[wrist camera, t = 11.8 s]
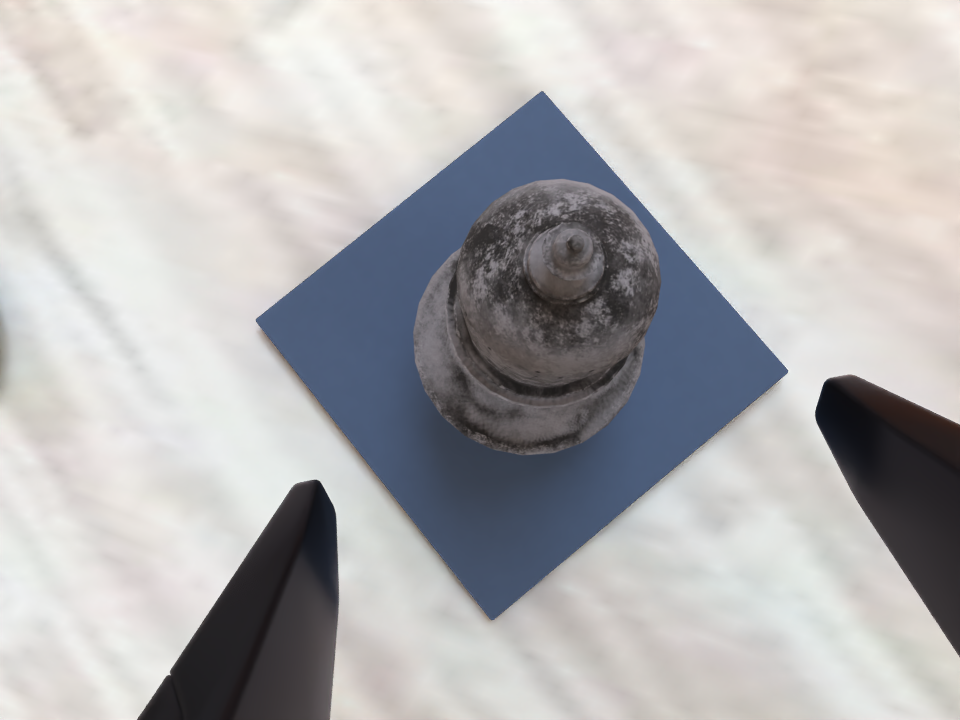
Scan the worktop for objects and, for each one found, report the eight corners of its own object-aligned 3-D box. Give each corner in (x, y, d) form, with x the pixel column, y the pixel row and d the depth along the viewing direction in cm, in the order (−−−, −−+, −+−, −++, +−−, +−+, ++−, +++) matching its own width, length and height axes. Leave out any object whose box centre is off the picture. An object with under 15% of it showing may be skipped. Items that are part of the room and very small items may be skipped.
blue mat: (491, 615, 18) (491, 622, 17) (261, 322, 19) (254, 319, 18) (780, 372, 19) (790, 371, 18) (540, 99, 20) (542, 89, 19)
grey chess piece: (550, 483, 18) (667, 635, 6) (392, 379, 18) (199, 321, 6) (651, 325, 18) (955, 161, 6) (494, 226, 19) (496, -108, 7)
